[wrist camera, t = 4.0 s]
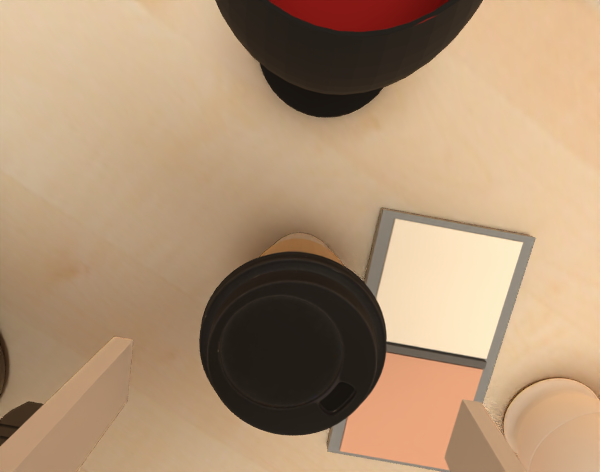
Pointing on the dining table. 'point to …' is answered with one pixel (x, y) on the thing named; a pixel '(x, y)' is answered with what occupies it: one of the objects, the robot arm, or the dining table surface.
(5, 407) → the dining table surface
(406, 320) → the makeup palette
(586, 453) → the jar
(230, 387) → the coffee cup
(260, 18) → the wine glass
